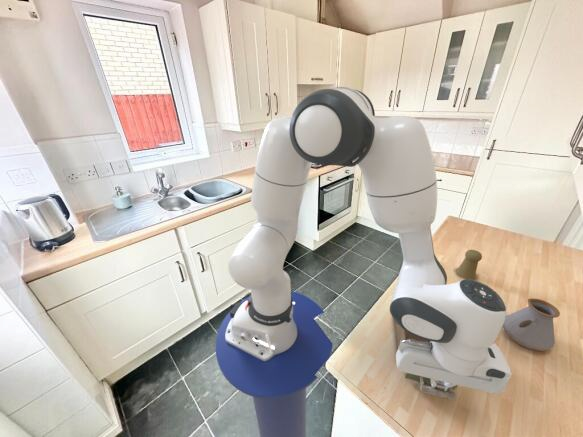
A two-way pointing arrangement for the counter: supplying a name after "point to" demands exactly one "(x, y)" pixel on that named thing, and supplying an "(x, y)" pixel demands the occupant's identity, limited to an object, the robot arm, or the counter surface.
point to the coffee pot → (533, 325)
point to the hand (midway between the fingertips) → (438, 386)
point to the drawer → (431, 390)
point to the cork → (469, 264)
